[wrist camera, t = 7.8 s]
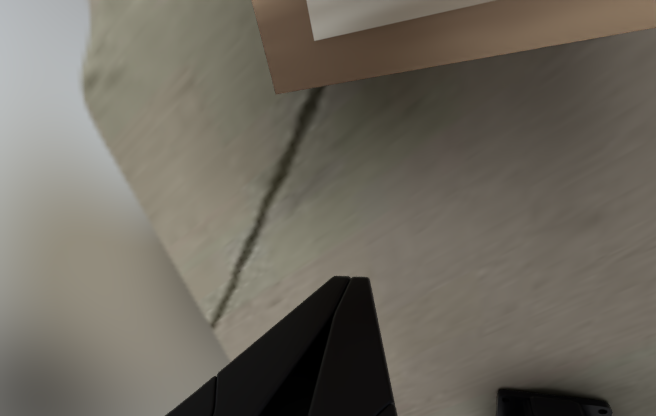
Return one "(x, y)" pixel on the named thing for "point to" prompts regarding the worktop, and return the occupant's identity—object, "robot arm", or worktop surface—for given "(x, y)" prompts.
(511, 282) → the worktop surface
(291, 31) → the brown box
